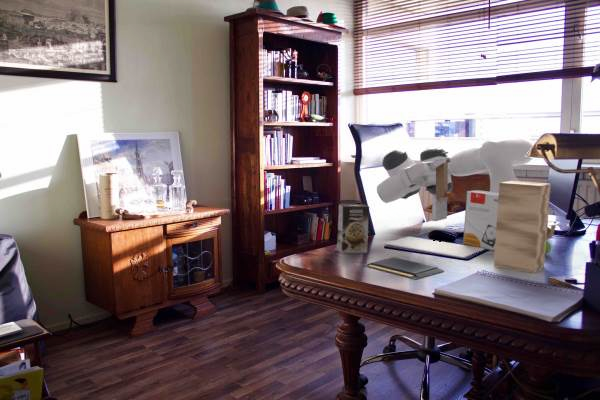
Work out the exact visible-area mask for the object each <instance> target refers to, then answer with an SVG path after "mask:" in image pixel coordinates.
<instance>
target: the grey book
mask: <svg viewBox="0 0 600 400" xmlns="http://www.w3.org/2000/svg"><path fill="white" fill-rule="evenodd" d="M362 267H363V268H364V267H365V268H368V269H372V270H376V271H380V272H383V273H388V274H392V275H396V276H399V277H403V278H407V279H411V280H414V281H417V280H421V279H422V280H423V279H424V278H428V277H431V276H435V275H439V274H443V273H444V272H445V270H444V269H441V268H439V267H437V266H436V265H435V266H434V265H430V264H426V263H421V262H417V261H412V260H408V259H404V258H399V257H396V256H394V257H388V258H385V259H380V260H377V261H373V262H369V263H367V264H364V265H362Z"/></svg>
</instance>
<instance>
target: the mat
mask: <svg viewBox="0 0 600 400" xmlns="http://www.w3.org/2000/svg"><path fill="white" fill-rule="evenodd" d="M433 240H434V239H428V238H421V237H417V236H416V237H415V236H411V235H410V236H405V237H401V238H399V239H398V238H397V239H396V240H391V241H389V242H385V243H384V245H387V246H391V247H398V248H403V249H410V250H415V251H421V252H426V253H432V254H437V255H443V256H447V257H449V256H450V257H454V258H455V257H456V258H458V259H459V258H461V259H465V258H468V257H470V256H472V254H473V255H474V253H475V254H477V253H479V251H480V252H482V251H484V250H485V248H480V247H476V246H470V245H466V244H460V243H459V244H458V243H452V242H446V241H441V242H439V241H440V240H435V241H433ZM476 252H477V253H476Z"/></svg>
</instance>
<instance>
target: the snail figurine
mask: <svg viewBox="0 0 600 400" xmlns="http://www.w3.org/2000/svg"><path fill="white" fill-rule="evenodd" d="M553 223H554V224H552V225H550V228H549V227H548V226H547V237H546V250H545V256H546V255H548V254H549V253H550V252H551V251H552V245H551V243H550V242H549V240H550V239H551V238H552V237H553V235H554V233H555V229H556V225H557V224H556V223H557V221H553Z"/></svg>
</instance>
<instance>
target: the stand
mask: <svg viewBox="0 0 600 400" xmlns="http://www.w3.org/2000/svg"><path fill="white" fill-rule="evenodd" d="M551 186H552V184H551V183H544V182H533V181H531V182H530V181H507V182H501V183H499V196H498V211H497V226H496V240H495V251H494V255H493V257H494V258H493V267H498V268H504V269H510V270H515V271H520V272H526V273H532V274H535V273H537V272H539V271H540V270H542V269H543V268H545V261H546V255H545V250H546V237H547V227H548V222H549V211H550V198H551Z"/></svg>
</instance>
